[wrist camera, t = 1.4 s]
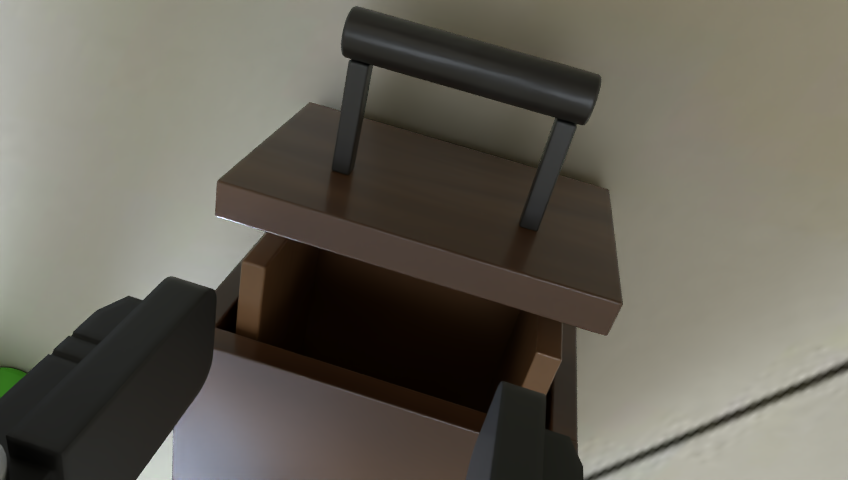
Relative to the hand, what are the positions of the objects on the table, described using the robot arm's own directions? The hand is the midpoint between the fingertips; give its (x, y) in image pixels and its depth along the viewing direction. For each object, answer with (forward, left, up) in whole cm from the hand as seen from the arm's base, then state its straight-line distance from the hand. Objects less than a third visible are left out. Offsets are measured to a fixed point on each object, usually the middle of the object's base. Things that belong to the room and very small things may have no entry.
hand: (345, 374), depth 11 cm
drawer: (+6, 0, -14) cm, 16 cm away
